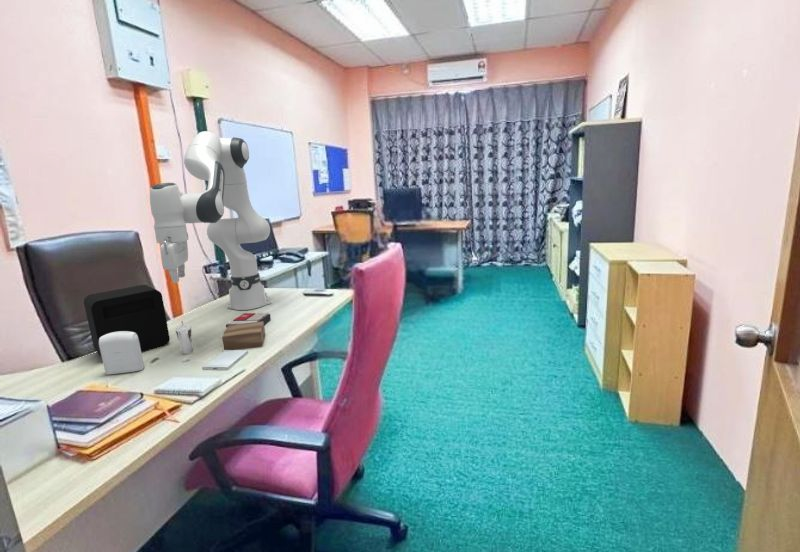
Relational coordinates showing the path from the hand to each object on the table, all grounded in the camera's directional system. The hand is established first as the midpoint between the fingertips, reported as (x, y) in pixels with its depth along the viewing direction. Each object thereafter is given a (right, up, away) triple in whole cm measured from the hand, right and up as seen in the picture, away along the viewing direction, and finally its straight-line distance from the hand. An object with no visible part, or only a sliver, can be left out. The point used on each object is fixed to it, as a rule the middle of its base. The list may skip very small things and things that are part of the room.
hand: (179, 279), depth 137 cm
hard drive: (+17, -26, -4) cm, 31 cm away
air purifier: (-21, -24, +11) cm, 34 cm away
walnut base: (+17, -22, +10) cm, 30 cm away
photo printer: (-12, -28, -8) cm, 31 cm away
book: (+13, -19, +27) cm, 35 cm away
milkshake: (0, -24, +5) cm, 24 cm away
